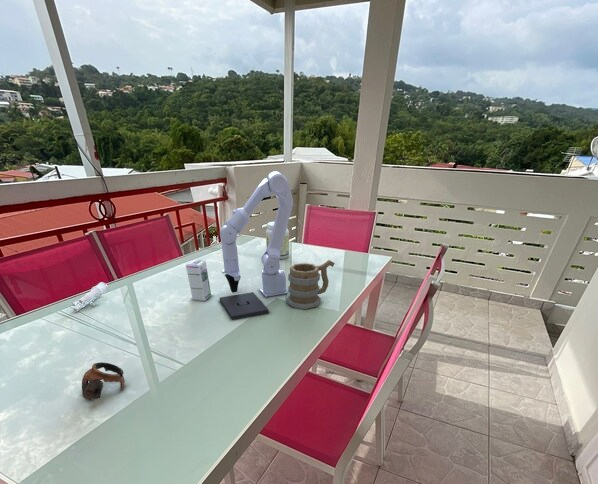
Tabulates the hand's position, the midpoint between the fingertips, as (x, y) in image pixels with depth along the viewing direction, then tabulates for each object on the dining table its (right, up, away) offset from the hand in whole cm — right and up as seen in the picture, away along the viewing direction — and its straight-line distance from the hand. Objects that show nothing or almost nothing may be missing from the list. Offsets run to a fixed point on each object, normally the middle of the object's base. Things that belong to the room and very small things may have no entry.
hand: (234, 291), depth 136 cm
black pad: (+4, -6, -6) cm, 9 cm away
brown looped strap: (-24, -38, -51) cm, 68 cm away
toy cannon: (-53, -7, -8) cm, 54 cm away
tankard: (+32, -4, -3) cm, 32 cm away
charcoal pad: (+7, -10, -11) cm, 17 cm away
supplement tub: (+15, +29, +44) cm, 55 cm away
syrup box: (-13, -3, -2) cm, 13 cm away
